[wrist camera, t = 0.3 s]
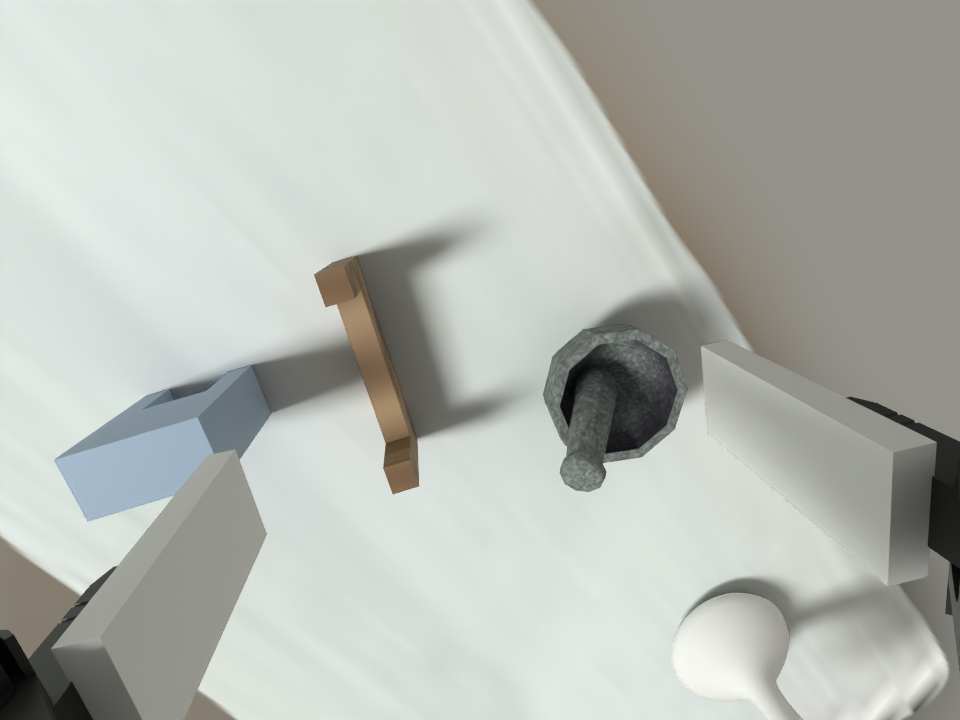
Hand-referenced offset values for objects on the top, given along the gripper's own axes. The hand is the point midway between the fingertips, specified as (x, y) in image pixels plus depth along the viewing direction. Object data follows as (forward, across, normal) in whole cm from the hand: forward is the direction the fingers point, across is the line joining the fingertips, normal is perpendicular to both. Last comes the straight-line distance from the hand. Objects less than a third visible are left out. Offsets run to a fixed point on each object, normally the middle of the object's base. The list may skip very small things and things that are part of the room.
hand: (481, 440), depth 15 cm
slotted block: (+27, -19, -5) cm, 33 cm away
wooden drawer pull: (+27, -6, -4) cm, 28 cm away
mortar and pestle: (+28, +9, -10) cm, 31 cm away
